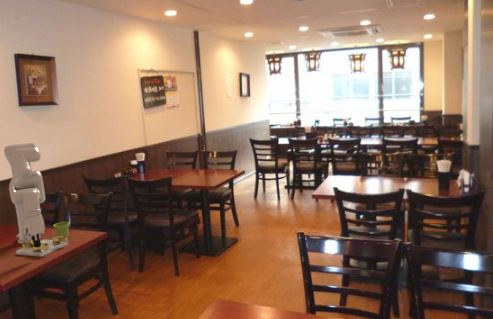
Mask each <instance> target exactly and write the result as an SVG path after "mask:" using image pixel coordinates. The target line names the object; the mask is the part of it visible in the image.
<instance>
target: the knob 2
mask: <svg viewBox="0 0 493 319" xmlns="http://www.w3.org/2000/svg"><path fill="white" fill-rule="evenodd" d="M51 240H53V242H54V243H56V242H69V239H68V237H67V236H58V237H57V236H55V237H52V239H51Z"/></svg>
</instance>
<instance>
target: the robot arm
mask: <svg viewBox="0 0 493 319" xmlns="http://www.w3.org/2000/svg"><path fill="white" fill-rule="evenodd" d="M3 153H4V156H5V159H6V160H7V162H8V163H9V165H10V170H11V175H12V176H11V177H12V178H11V180H10V182H9V185H8V191H9V196H10V199H11V202H12V203H13V204H14V206H15V212H16V218H17V225H18V231H19V232H18V234H17V235H16V238H18V239H17V243H18V244H21V245H22V243H23V242H27V241H29V240H33V243H34V247H40V246H41V244H40V241H41V240H42V235H43V234H45V230H46V227H45V221H44V217H43V215H42V208H41V206H40V204H43V203H44V202H45V201H46V193H45V187H44V186H45V184H44V180H43V175H42V173H41V172H40V171H39V170H33V168H32V164H31V163H34V162H35V163H37V162H39V161H41V156H42V155H41V151H40V149H39V147H38V145H37V144H36V143H35V142H29V143H18V144H11V145H6V146H5V147H4V149H3ZM16 189H17V190H16Z"/></svg>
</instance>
